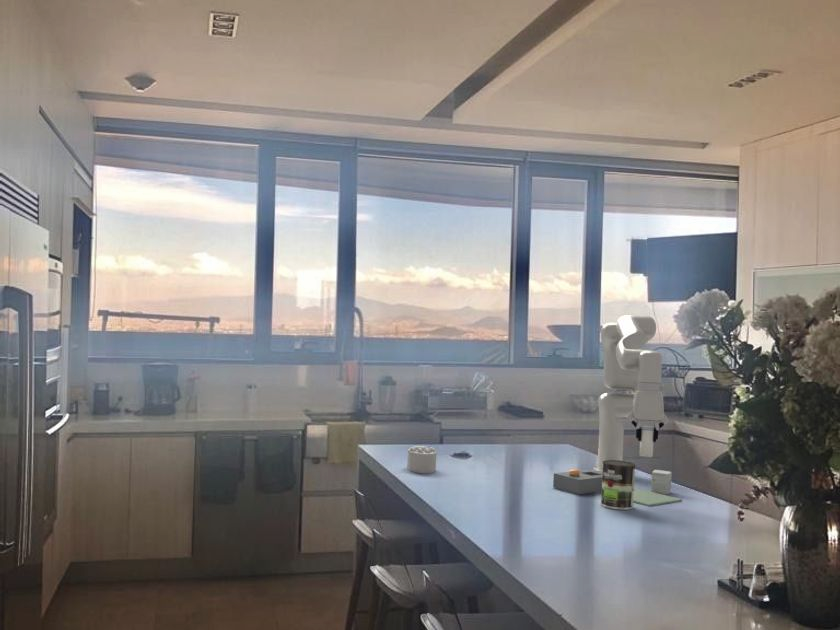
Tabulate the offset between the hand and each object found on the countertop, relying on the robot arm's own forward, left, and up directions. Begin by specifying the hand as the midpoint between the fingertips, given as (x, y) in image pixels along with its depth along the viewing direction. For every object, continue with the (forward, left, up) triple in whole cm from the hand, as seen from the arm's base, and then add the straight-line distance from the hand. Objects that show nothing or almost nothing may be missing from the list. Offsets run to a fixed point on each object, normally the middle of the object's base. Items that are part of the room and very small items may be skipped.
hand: (646, 440), depth 282 cm
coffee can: (+19, +4, -20) cm, 28 cm away
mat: (0, 0, -20) cm, 20 cm away
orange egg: (+13, -20, -19) cm, 30 cm away
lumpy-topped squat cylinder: (+41, -71, -20) cm, 85 cm away
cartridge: (0, 0, -5) cm, 5 cm away
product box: (-15, -4, -20) cm, 25 cm away
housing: (+8, -20, -20) cm, 29 cm away
